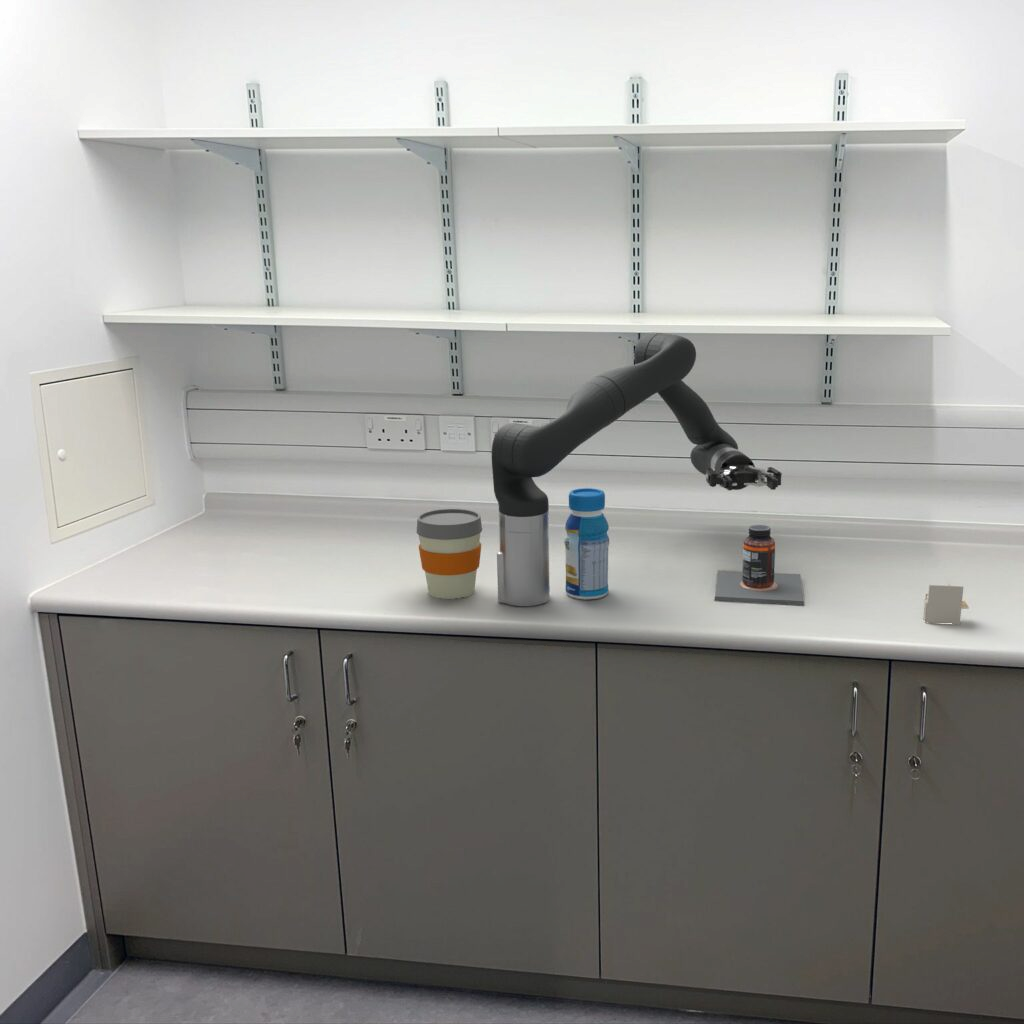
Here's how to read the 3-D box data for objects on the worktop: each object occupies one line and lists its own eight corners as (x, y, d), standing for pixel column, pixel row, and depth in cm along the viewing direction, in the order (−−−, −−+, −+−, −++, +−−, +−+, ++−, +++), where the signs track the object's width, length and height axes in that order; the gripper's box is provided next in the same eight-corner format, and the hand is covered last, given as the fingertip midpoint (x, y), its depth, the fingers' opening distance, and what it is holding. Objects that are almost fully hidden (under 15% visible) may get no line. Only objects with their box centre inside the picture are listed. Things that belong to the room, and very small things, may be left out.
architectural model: (921, 619, 185) (924, 579, 184) (962, 621, 184) (966, 580, 182) (924, 625, 182) (928, 585, 180) (967, 628, 181) (971, 587, 179)
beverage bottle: (599, 603, 195) (599, 499, 190) (557, 597, 199) (556, 494, 194) (615, 589, 202) (616, 488, 197) (575, 584, 206) (574, 485, 201)
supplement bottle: (769, 578, 204) (771, 522, 201) (777, 588, 198) (780, 531, 195) (738, 579, 204) (740, 523, 201) (746, 589, 198) (748, 531, 195)
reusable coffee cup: (407, 597, 200) (403, 521, 196) (438, 578, 211) (435, 506, 207) (466, 605, 195) (463, 528, 191) (494, 585, 206) (492, 511, 202)
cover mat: (714, 600, 195) (714, 595, 195) (717, 573, 210) (717, 569, 210) (803, 605, 192) (803, 600, 192) (800, 577, 207) (800, 573, 207)
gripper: (698, 450, 218) (716, 466, 202) (766, 449, 218) (790, 465, 202) (697, 486, 219) (715, 504, 204) (764, 484, 220) (787, 503, 204)
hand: (752, 484), depth 203 cm, fingers open, 8 cm apart
